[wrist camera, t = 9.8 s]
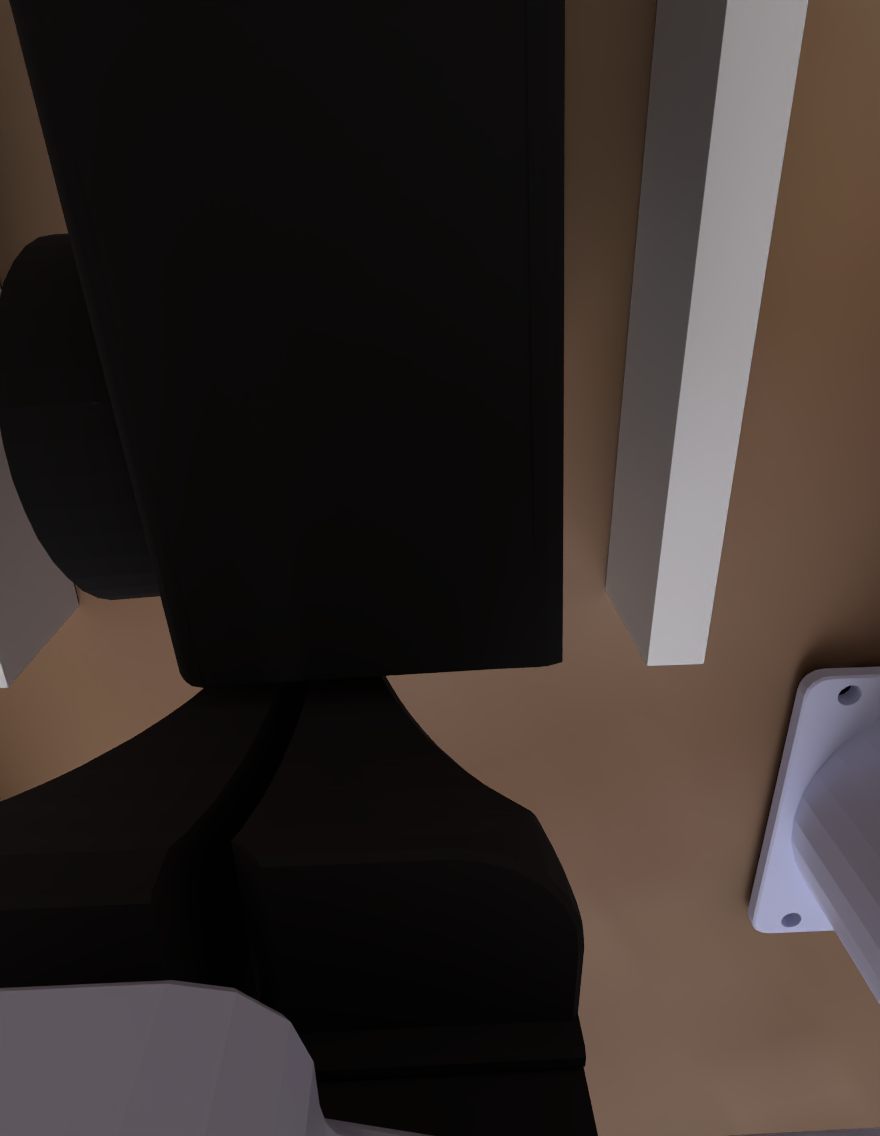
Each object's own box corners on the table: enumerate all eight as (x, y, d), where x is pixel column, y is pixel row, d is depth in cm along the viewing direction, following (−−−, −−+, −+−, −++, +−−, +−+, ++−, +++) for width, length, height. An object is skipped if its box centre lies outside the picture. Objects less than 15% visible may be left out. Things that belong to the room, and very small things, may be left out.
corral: (791, -590, 9) (957, -945, 6) (651, 588, 16) (703, 663, 13) (-308, -611, 9) (-639, -1000, 6) (30, 607, 15) (-52, 689, 13)
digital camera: (89, -221, 10) (-487, -972, 4) (484, -256, 10) (572, -1090, 4) (230, 495, 14) (72, 703, 8) (507, 476, 14) (564, 672, 8)
